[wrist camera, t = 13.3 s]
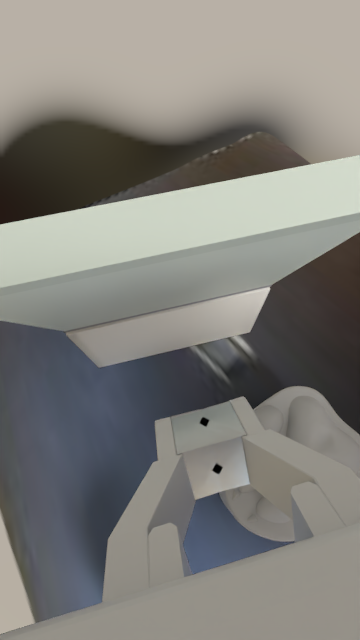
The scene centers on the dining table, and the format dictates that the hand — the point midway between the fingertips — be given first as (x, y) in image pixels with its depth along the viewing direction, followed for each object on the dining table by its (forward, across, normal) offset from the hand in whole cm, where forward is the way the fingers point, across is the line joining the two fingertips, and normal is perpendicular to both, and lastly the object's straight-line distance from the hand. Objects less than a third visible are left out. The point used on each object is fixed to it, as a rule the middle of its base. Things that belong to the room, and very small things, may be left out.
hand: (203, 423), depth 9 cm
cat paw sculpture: (+14, +7, -21) cm, 26 cm away
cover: (+12, +1, +4) cm, 12 cm away
